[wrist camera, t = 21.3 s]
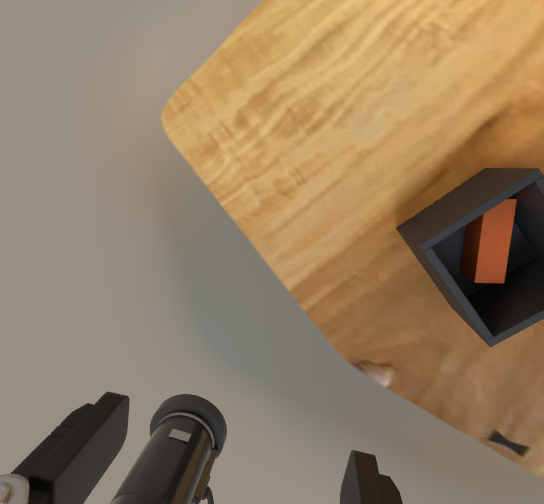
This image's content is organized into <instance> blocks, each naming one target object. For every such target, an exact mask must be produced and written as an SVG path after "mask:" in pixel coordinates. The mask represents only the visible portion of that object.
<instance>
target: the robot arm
mask: <svg viewBox="0 0 544 504" xmlns="http://www.w3.org/2000/svg"><path fill="white" fill-rule="evenodd" d="M128 414H129V397H128V396H125V395H121V394H117V393H112V392H106V393H105V394H104V395H103V396H102V397H101V398H100V399H99V400H98V401H97V402H96V403H95V405H93V404H88V403H87V404H85V405H84V406H82V407H80V408H78V409H76V410H75V411H73V412H72V413H71V414H70V415H69V416H68V417H67V418H66V419H65V420H64V421H63V422H62V423H61V424H60V426H58V427H57V428H56V429H55V430H54V431H53V432H52V433H51V435H49V436H48V437H47V438H46V439H45V440H44V441H43V442H42V443H41V444H40V445H39V446H38V447H37V448H36V449H35V450H34V451H33V452H32V453H31V454H30V455H29V456H28V457H27V458H26V459H25V460H24V461H23V462H22V463H21V464H20V465H19V466H18V467H17V468H16V469H15V470H14V471H13V472H11V473H10V474H6V475H1V476H0V504H83V503H84V502H85V500H86V499H87V497H88V496H89V495H90V493H91V492H92V490H93V489H94V487H95V486H96V484H97V483H98V481H99V480H100V479H101V477H102V476H103V474H104V473H105V472H106V470H107V469H108V467H109V466H110V464H111V463H112V461H113V460H114V459H115V457H116V456H117V454H118V453H119V451H120V450H121V448H122V446H123V444H124V441H125V438H126V434H127V427H128ZM218 449H219V448H218V447H217V445H216V444H215V434H214V431H213V429H212V427H211V425H210V424H209V423H208V422H207V420H205V419H204V418H203V417H202V416H200V415H198V414H197V413H194V412H191V411H187V410H176V411H172V412H170V413H168V414H166V415H165V416H164V417H163V418H162V419H161V420H160V422H159V423H158V425H157V427H156V429H155V431H154V432H153V434H152V436H151V438H150V439H149V441H148V442H147V444H146V446H145V447H144V449H143V451H142V452H141V454H140V456H139V457H138V459H137V461H136V462H135V464H134V465H133V467H132V469H131V470H130V472H129V473H128V475H127V477H126V478H125V480H124V482H123V483H122V485H121V487H120V488H119V490H118V491H117V493H116V495H115V496H114V498H113V500H112V501H111V503H110V504H199V503H200V501H201V500H204V499H206V498H207V500H208V504H214V502H213V496H212V492H211V489H210V488H209V487H208V486H207V484H208V482H209V479H210V472H211V469H212V466H213V463H214V460H215V458H216V455H217V452H218ZM340 504H402V500H401V496H400V492H399V490H398V489H397V487H396V486H395V484H394V483H393V481H392V480H391V478H390V477H389V476H385V475H381V474H379V471H378V466H377V461H376V457H375V455H372V454H367V453H363V452H359V451H355V450H352V451H351V453H350V457H349V460H348V464H347V468H346V471H345V475H344V479H343V482H342V486H341V493H340Z"/></svg>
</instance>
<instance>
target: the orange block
mask: <svg viewBox="0 0 544 504" xmlns="http://www.w3.org/2000/svg"><path fill="white" fill-rule="evenodd" d="M516 201H517V199H514V198H508V199H506V200H505V201H503V202H501V203H500V204H498V205H497V206H495V207H493V208H492V209H490V210H489V211H487V212H486V213H484V214H482V215H481V216H479V217H478V218H476V219H475V220H473V221H471V222H470V223H468V224H467V225H466V227H465V235H464V244H463V252H462V260H461V269H460V272H461V273H462V274H464V275H465V276H466V277H468V278H469V279H470V280H472V281H473V282H475V283H504V281H505V274H506V268H507V261H508V254H509V248H510V241H511V234H512V228H513V221H514V215H515V208H516Z"/></svg>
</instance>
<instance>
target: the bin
mask: <svg viewBox="0 0 544 504" xmlns="http://www.w3.org/2000/svg"><path fill="white" fill-rule="evenodd" d="M508 198H514V199H517V201H516V208H515V215H514V221H513V228H512V234H511V241H510V248H509V254H508V261H507V268H506V274H505V281H504V283H475V282H473V281H472V280H470V279H469V278H468V277H466V276H465V275H464V274H462V273H461V272H460V269H461V260H462V252H463V244H464V235H465V227H466V225H467V224H468V223H470V222H471V221H473V220H475V219H476V218H478V217H479V216H481V215H482V214H484V213H486V212H487V211H489V210H490V209H492V208H493V207H495V206H497V205H498V204H500V203H501V202H503V201H505V200H506V199H508ZM396 229H397V230H398V232H399V233H400V234H401V236H402V237H403V239H404V240H405V242H406V243H407V244H408V246H409V247H410V249H411V250H412V252H413V253H414V254H415V256H416V257H417V259H418V260H419V261H420V263H421V264H422V266H423V267H424V269H425V270H426V271H427V273H428V274H429V276H430V277H431V279H432V280H433V281H434V283H435V284H436V286H437V287H438V288H439V290H440V291H441V293H442V294H443V296H444V297H445V298H446V300H447V301H448V303H449V304H450V306H451V307H452V308H453V309H454V310H455V311H456V312H457V313H458V315H459V316H460V317H461V318H462V319H463V320H464V321H465V322H466V323H467V324H468V325H469V326H470V327H471V328H472V329H473V330H474V331H475V332H476V333H477V334H478V335H479V336H480V337H481V338H482V339H483V340H484V341H485V342H486V343H487V344H488V345H489V346H490V347H492V346H494V345H495V344H497V343H499V342H501V341H503V340H505V339H507V338H508V337H510V336H512V335H514V334H516V333H518V332H520V331H521V330H523V329H525V328H527V327H529V326H531V325H533V324H534V323H536V322H538V321H540V320H542V319H544V176H543V174H542V173H541V171H540V170H539V169H530V168H485V169H484V170H482V171H481V172H479V173H478V174H476V175H475V176H473V177H472V178H470V179H469V180H467V181H466V182H464V183H463V184H461V185H460V186H458V187H457V188H455V189H454V190H452V191H451V192H449V193H448V194H446V195H445V196H443V197H442V198H440V199H439V200H437V201H436V202H434V203H433V204H431V205H430V206H428V207H427V208H425V209H424V210H422V211H421V212H419V213H418V214H416V215H415V216H414V217H412V218H411V219H409V220H408V221H406V222H405V223H403V224H402V225H400V226H399V227H397V228H396Z"/></svg>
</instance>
